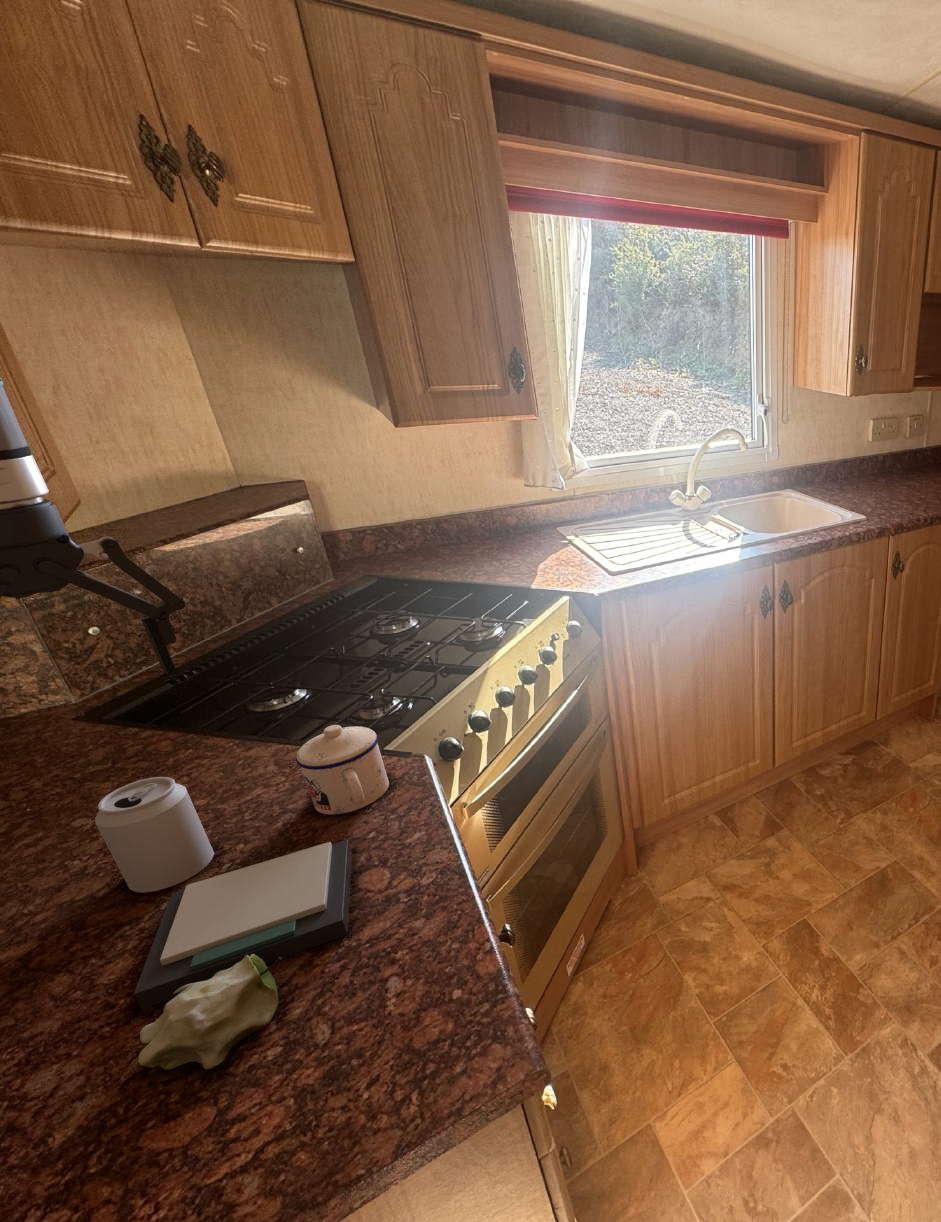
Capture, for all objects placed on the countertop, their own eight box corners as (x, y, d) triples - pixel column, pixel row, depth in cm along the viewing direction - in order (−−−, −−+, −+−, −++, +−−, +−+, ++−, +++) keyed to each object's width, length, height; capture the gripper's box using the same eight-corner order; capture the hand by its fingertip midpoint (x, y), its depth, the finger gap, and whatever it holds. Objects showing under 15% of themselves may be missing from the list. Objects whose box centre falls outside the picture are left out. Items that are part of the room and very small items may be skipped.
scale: (145, 1016, 60) (129, 988, 59) (181, 913, 71) (168, 887, 70) (350, 940, 68) (340, 914, 67) (354, 858, 79) (346, 834, 78)
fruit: (306, 987, 65) (296, 934, 61) (248, 1090, 56) (233, 1035, 53) (197, 988, 62) (181, 933, 59) (121, 1095, 54) (97, 1039, 51)
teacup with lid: (308, 798, 89) (283, 727, 85) (383, 770, 95) (363, 703, 91) (325, 842, 82) (299, 766, 77) (406, 809, 88) (385, 737, 83)
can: (113, 891, 74) (69, 807, 69) (186, 846, 81) (150, 767, 76) (162, 904, 72) (120, 819, 68) (232, 857, 79) (198, 777, 74)
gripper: (-243, 537, 51) (-101, 760, 59) (176, 488, 70) (240, 661, 78) (-238, 523, 55) (-105, 734, 63) (157, 479, 73) (220, 646, 82)
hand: (86, 694), depth 70 cm, fingers open, 13 cm apart
